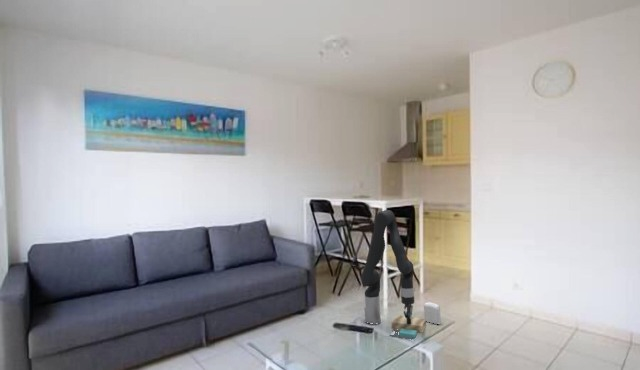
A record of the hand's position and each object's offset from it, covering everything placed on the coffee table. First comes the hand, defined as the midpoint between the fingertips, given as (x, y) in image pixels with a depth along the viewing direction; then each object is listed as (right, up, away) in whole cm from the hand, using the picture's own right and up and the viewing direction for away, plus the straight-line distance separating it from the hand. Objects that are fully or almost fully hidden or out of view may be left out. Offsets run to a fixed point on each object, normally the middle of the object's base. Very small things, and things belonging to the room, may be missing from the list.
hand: (409, 323), depth 210 cm
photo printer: (+18, -4, +12) cm, 22 cm away
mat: (-5, -5, -3) cm, 8 cm away
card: (-2, -3, -5) cm, 6 cm away
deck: (+2, -5, +7) cm, 9 cm away
